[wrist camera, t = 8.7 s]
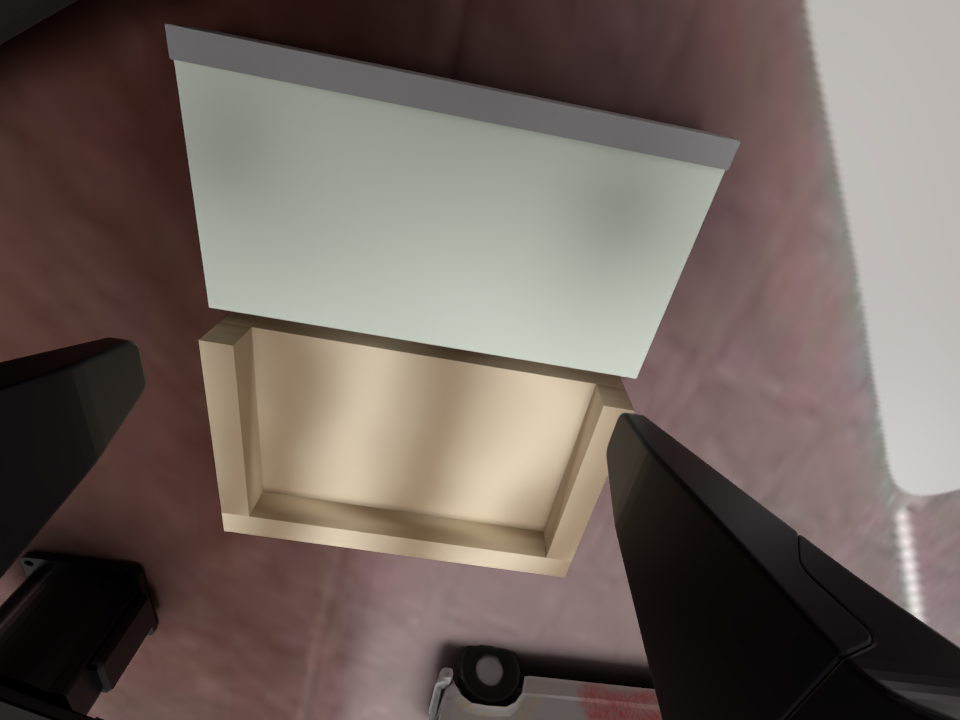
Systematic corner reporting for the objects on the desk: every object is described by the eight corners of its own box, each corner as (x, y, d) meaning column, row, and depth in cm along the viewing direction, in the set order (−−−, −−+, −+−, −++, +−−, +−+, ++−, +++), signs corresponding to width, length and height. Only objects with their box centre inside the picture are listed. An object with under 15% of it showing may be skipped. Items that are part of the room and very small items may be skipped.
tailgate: (206, 309, 17) (164, 23, 13) (227, 291, 18) (196, 27, 14) (637, 381, 18) (741, 140, 14) (627, 359, 19) (719, 133, 15)
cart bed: (252, 483, 24) (224, 530, 22) (237, 306, 20) (198, 340, 17) (557, 527, 26) (564, 577, 23) (616, 369, 21) (634, 410, 18)
